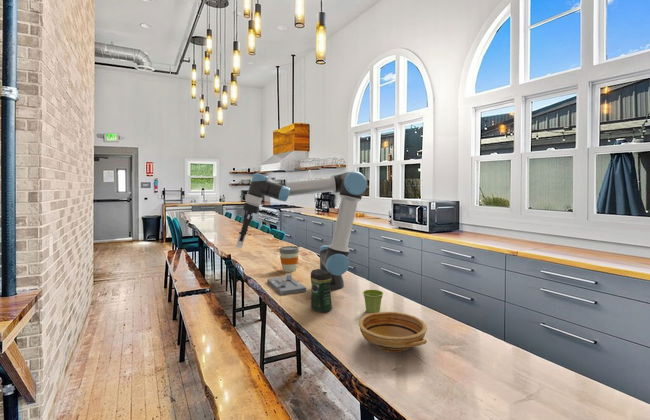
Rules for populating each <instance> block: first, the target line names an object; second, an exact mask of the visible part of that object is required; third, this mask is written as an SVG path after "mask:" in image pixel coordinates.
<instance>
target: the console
mask: <svg viewBox="0 0 650 420" xmlns="http://www.w3.org/2000/svg"><path fill="white" fill-rule="evenodd" d="M282 279H285V280H286V276H280V277H272V278H267V279H266V283H268V284H269V286H271V288H273V289H274V290H276V292H277V293H278V294H280V295H281V296H284V295H291V294H297V293H298V294H299V293H303V292H307V287H306V286H305V285H303V284H302V283H300V282H299V281H298V280H296V279H295V278H293V277H292V280H286V286H282V287H281V286H280V280H282Z"/></svg>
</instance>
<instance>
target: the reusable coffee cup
mask: <svg viewBox="0 0 650 420" xmlns="http://www.w3.org/2000/svg"><path fill="white" fill-rule="evenodd" d="M279 254H280V255H279V257H280V259H279V260H280V263H281V267H282V271H283V272H284V271H285V272H284V273H292V271H294V272H296V271H297V267H298V266H297V265H298V263H299V247H298V246H291V245H289V246H288V245H287V246H281V247H280V248H279Z"/></svg>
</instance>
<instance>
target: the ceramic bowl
mask: <svg viewBox="0 0 650 420" xmlns="http://www.w3.org/2000/svg"><path fill="white" fill-rule="evenodd" d="M358 327H359V330H360V333H361V335H362V337H363V338H364V339H365V340H366V342H368V343H369V344H371V345H373V346H375V347H377V348H379V350H381V351H384V352H388V353H401V352H404V351H406V350H408V349H411V348H412V349H413V348H414V347H420V346H422V345H426V343H427V342H428V341H427V339H426V338H425V335H426V333H427V330H428V326H427V324H426V323H425V321H424V320H422V319H420V318H419V317H416V316H415V315H411V314H407V313H402V312H398V311H397V312H396V311H395V312H394V311H380V312H377V313H365V314H364V315H362V317H361V318H360V319H359V321H358Z"/></svg>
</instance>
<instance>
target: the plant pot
mask: <svg viewBox="0 0 650 420" xmlns="http://www.w3.org/2000/svg"><path fill="white" fill-rule="evenodd" d="M362 294H363V298H364V304H365V312H367V314H369V313H371V314H372V313H377V312H381V311H380V310H381V304H382V298H383V295H384V292H383V291H382V290H379V289H365V290H363V291H362Z"/></svg>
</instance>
